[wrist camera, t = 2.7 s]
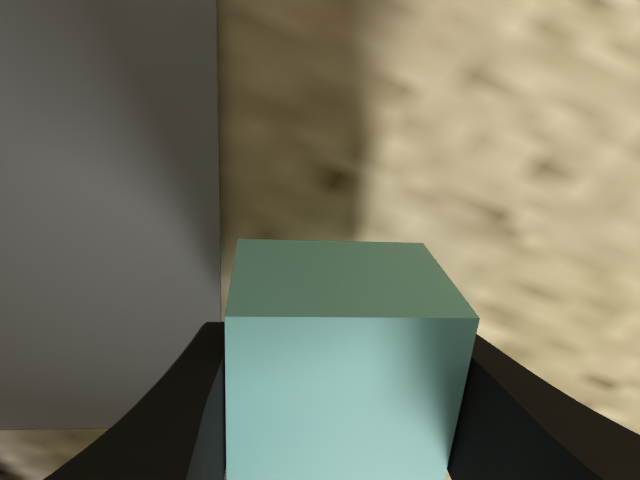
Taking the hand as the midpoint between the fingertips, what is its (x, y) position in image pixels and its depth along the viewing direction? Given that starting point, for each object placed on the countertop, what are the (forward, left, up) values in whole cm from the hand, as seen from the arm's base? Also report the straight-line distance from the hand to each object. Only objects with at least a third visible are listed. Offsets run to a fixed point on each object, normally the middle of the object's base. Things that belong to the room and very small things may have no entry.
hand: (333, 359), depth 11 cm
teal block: (0, 0, -2) cm, 2 cm away
